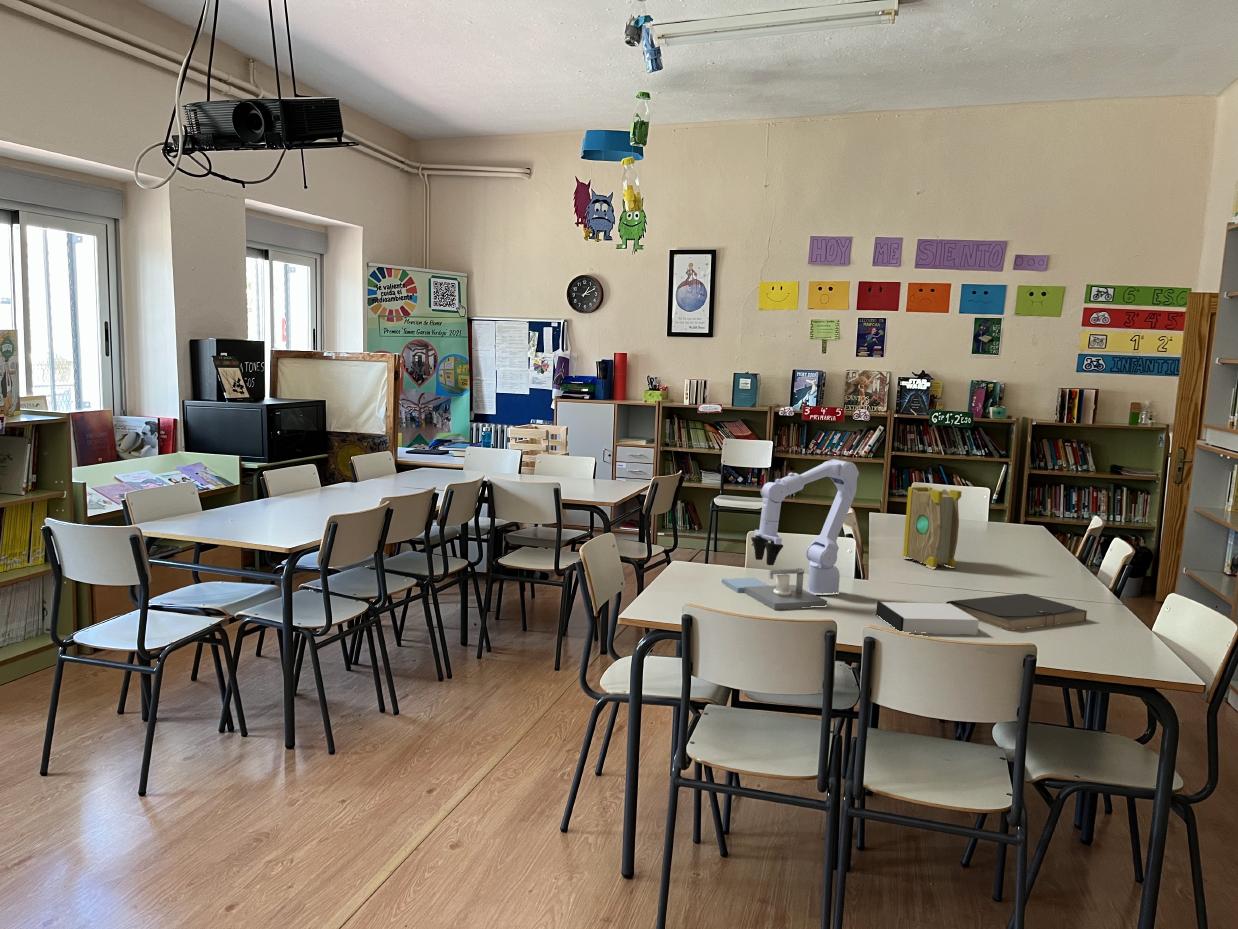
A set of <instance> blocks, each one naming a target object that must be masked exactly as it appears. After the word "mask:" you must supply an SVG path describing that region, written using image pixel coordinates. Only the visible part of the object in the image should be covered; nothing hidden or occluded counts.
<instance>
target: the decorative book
mask: <svg viewBox="0 0 1238 929" xmlns="http://www.w3.org/2000/svg"><path fill="white" fill-rule="evenodd" d="M961 498H962V491H961V490H955V489H949V491H948V490H947V489H945V488H944V489H942V490H938V489H934V488H933V487H930V486H909V487H908V488H907V500H906V513H905V516H906V517H905V522H904V523H905V525H904V526H905V528H904V537H903V538H904V540H903V549H902V550H903V552H902V557H903V556H905V557H909V558H912V559H914V560H917V561H919V562H922V563H925V564H926V565H929V566H931V567H937V568H938V564H942V563H943V565H944V564H945V565H948V566H951V567H955V568H957V561H956V558H955V555H956V550H957V547H958V546H957V545H958V540H959V525H960V518H959V500H960V499H961ZM914 560H913V561H914ZM917 561H916V562H917ZM919 562H918V563H919Z"/></svg>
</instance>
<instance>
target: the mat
mask: <svg viewBox="0 0 1238 929" xmlns="http://www.w3.org/2000/svg"><path fill="white" fill-rule="evenodd" d="M722 583H723V584H722ZM721 584H722V585H724V584H725V585H726V587H727V588H729V589H730V590H733V591H735V592H736V593H744V591H745V587H753V586H770V585H769V584H767V583H765V582H763V581H761V580H759V579H758V578H755V577H736V578H735V577H734V578H721ZM725 585H724V586H725Z"/></svg>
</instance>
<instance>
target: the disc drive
mask: <svg viewBox="0 0 1238 929" xmlns="http://www.w3.org/2000/svg"><path fill="white" fill-rule="evenodd" d="M876 615H878V616H880V617H881V618H882V619H883V620H885V621H886V622H888V623H889V624H891V625H892V626H893V627H895V629H897V630H899V631H904V632H911V633H919V635H924V634H923V633H921V632H926V633H933V634H932V635H959V634H972V635H971V636H976V634H977V635H978V634H979V632H978V631H979V622H980V621H979V620H978V619H976V618H975V617H973V616H971V615H969V614H968V613H966V612H964V611H962V610H960V609H959V608H957V607H955V606H953V605H952V604H948V603H946V602H945V603H941V602H940V603H939V602H938V603H937V602H894V601H893V602H888V601H887V602H886V601H883V602H882V601H879V600H877V601H876V614H875V616H876ZM883 620H882V621H883ZM895 629H894V630H895ZM915 631H916V632H915Z"/></svg>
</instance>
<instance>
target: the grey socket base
mask: <svg viewBox="0 0 1238 929" xmlns="http://www.w3.org/2000/svg"><path fill="white" fill-rule="evenodd" d="M803 586H804V574H799V573H796V584H789V590H790V591H791V595H790V596H778V595H775V594H774V593H773V591H774V589H776V585H769V586H753V587H745V591H744V592H743V593H744V594H746V595H748V596H749V597H751V598H752V599H754V600H756V601H758V603H759V602H760V603H761V604H763V605H765V606H767V608H770V609H772V610H774V611H781V610H780V609H783V610H790V609H789V608H802V607H811V606H825V605H827V606H828V600H826V599H824V598H822V597H821V596H816V595H814V594H812V593H810V592H808V591H806V590H804V587H803ZM802 609H803V608H802Z"/></svg>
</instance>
